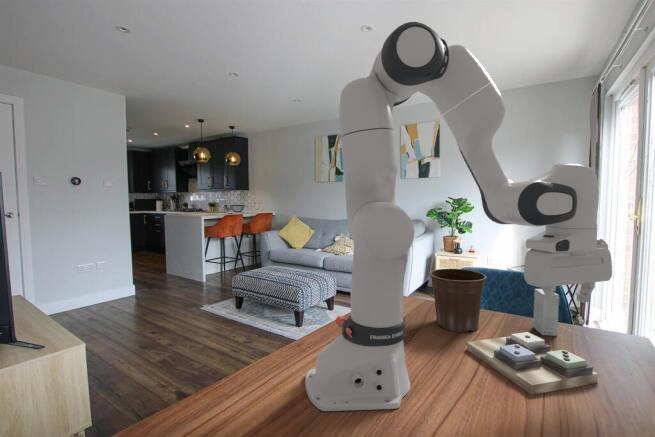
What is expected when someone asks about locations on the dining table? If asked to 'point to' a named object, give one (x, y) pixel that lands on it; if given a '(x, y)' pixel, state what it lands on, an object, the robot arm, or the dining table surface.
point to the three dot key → (566, 359)
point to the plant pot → (457, 298)
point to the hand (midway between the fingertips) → (567, 303)
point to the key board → (531, 367)
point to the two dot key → (517, 353)
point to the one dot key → (528, 339)
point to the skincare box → (545, 315)
